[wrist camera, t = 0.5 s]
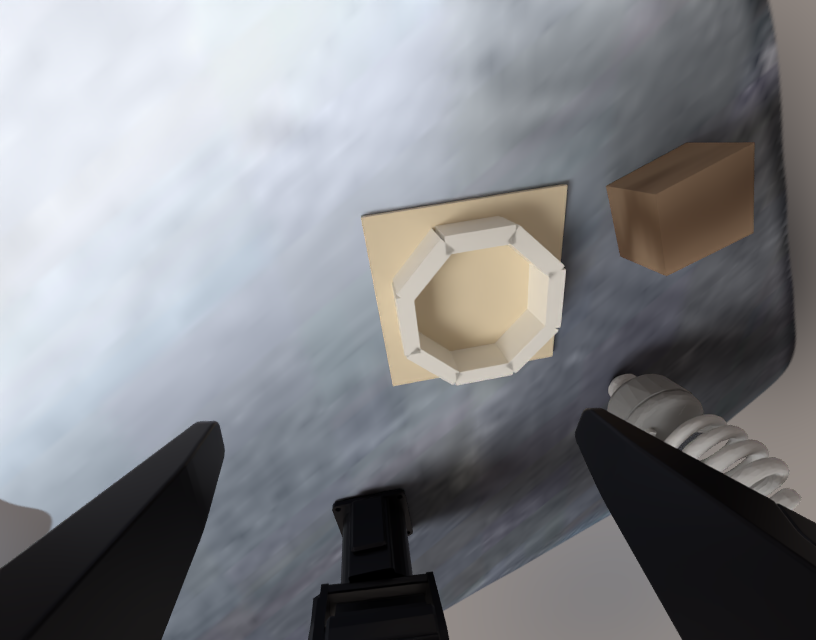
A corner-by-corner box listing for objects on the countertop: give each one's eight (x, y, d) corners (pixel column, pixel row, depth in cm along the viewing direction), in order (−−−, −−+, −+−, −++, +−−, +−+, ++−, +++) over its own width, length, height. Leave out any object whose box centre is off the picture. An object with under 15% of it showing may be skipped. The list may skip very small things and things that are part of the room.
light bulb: (583, 413, 29) (711, 566, 19) (582, 363, 27) (730, 507, 16) (646, 394, 29) (810, 537, 19) (651, 342, 27) (846, 473, 16)
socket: (548, 352, 26) (570, 376, 23) (392, 381, 25) (396, 410, 22) (562, 184, 20) (594, 190, 17) (360, 216, 19) (361, 227, 17)
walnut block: (691, 218, 22) (753, 232, 19) (618, 255, 23) (666, 276, 19) (684, 142, 20) (754, 142, 17) (604, 185, 21) (655, 194, 17)
